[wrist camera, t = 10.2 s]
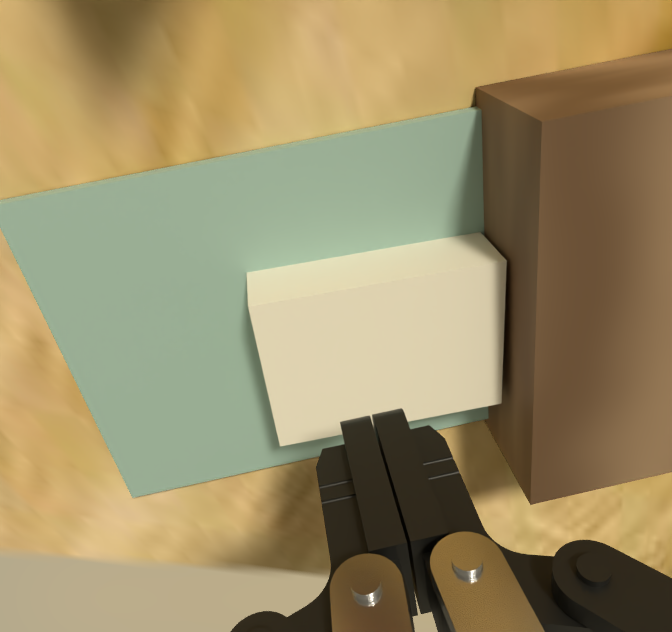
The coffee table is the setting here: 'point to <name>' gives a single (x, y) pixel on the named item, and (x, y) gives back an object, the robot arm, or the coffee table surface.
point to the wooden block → (583, 272)
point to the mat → (224, 279)
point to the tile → (380, 334)
